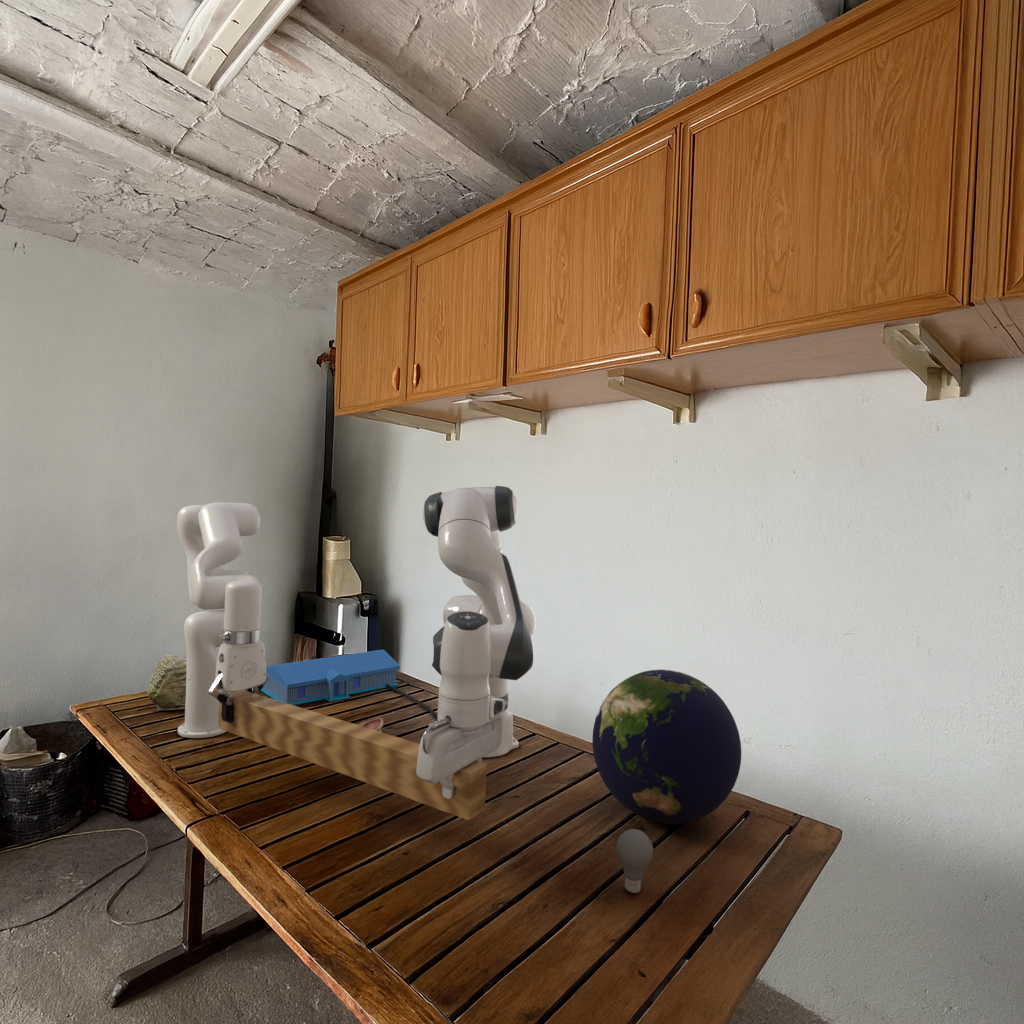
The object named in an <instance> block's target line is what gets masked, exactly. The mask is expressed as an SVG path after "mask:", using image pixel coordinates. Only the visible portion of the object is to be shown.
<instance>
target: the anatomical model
mask: <svg viewBox="0 0 1024 1024" xmlns="http://www.w3.org/2000/svg"><path fill="white" fill-rule="evenodd" d="M356 725H359V726H363V727H366V728H369V729H372V730H376V731H379V732H382V733H383V731H382V730H381V729H382V728H383V727H384V719H383V718H382V717H378V718H373V719H369V720H365V721H363V722H359V723H357V724H356Z"/></svg>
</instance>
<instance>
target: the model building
mask: <svg viewBox="0 0 1024 1024" xmlns="http://www.w3.org/2000/svg"><path fill="white" fill-rule="evenodd" d="M400 669H401V665H400V664H399V663H398V662H397V661H396V660H395V659H394V658H393V657H392V656H391V654H389V653H388V652H387V651H386V650H385V649H376V650H368V651H363V652H356V653H349V654H342V655H341V654H340V655H335V656H329V657H328V656H327V657H321V658H315V659H314V658H313V659H307V660H300V661H293V662H287V663H278V664H272V665H268V666H266V674H267V675H268V676H269V680H268V682H267V683H266V684H265V685H263V688H262V689H261V691H260V692H262V693H264V694H265V695H267V696H268V697H269V698H271V699H274V700H278V701H281V702H284V703H287V704H291V705H294V706H297V705H302V704H307V703H312V702H317V701H323V700H325V701H327V702H329V703H330V702H335V701H341V700H346V699H347V700H348V699H350V698H351V695H353V694H359V693H364V692H365V693H366V692H369V691H373V690H381V689H385V688H388V687H387V686H386V684H388V685H390V686H392V687H395V686H399V683H398V682H397V670H400Z"/></svg>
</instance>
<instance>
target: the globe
mask: <svg viewBox="0 0 1024 1024" xmlns="http://www.w3.org/2000/svg"><path fill="white" fill-rule="evenodd" d="M592 753H593V758H594V763H595V765H596V768H597V772H598V774H599V775H600V778H601V780H602V782H603V783H604V785H605V787H606V788H607V790H608V791H609V792H610V794H611V795H612V796H613V797H614V799H616V801H618V802H619V803H620V804H621V805H622V806H623V807H625V808H626V809H627V810H629V812H631V813H633V814H635V815H637V816H638V817H641V818H643V819H645V820H648V821H651V822H654V823H659V824H664V825H665V824H666V825H681V824H687V823H691V822H695V821H698V820H700V819H702V818H704V817H706V816H708V815H710V814H711V813H713V812H714V811H715V810H717V808H720V806H721V805H722V804H723V803H724V801H726V799H727V798H728V797H729V795H730V794H731V792H732V791H733V788H734V787H735V785H736V783H737V780H738V777H739V774H740V770H741V765H742V742H741V736H740V732H739V728H738V725H737V723H736V720H735V718H734V716H733V714H732V711H731V710H730V709H729V707H728V706H727V704H726V703H725V701H724V700H723V698H721V696H719V694H718V693H717V692H716V691H715V690H714V689H712V688H711V686H709V685H707V684H706V683H705V682H703V681H701V680H700V679H698V678H696V677H694V676H692V675H690V674H688V673H684V672H682V671H676V670H672V669H665V668H664V669H650V670H645V671H640V672H638V673H636V674H633V675H631V676H629V677H627V678H626V679H624V680H622V681H621V682H619V683H618V684H617V685H616V686H615V687H613V688H612V689H611V690H610V691H609V693H608V694H607V695H606V696H605V698H604V699H603V701H602V702H601V705H600V706H599V708H598V711H597V713H596V716H595V719H594V723H593V728H592Z"/></svg>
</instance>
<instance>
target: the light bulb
mask: <svg viewBox="0 0 1024 1024" xmlns="http://www.w3.org/2000/svg"><path fill="white" fill-rule="evenodd" d="M615 849H616V854H617V857H618V859H619V861H620V863H621V865H622V867H623V873H624V874H623V875H624V876H625V878H624V888H625V890H627V891H628V892H630V893H634V894H635V893H639V892H640V891H641V889H642V887H641V886H642V879H643V877H644V875H645V871H646V868H647V867H648V866H649V864H650V863H651V861H652V859H653V855H654V847H653V843H652V841H651V838H649V836H648V835H647V834H646V833H645V832H643V831H642V830H641V829H636V828H629V829H627V830H625V831H623V832H622V833H621V834H620V835H619V837H618V839H617V841H616V847H615Z"/></svg>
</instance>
